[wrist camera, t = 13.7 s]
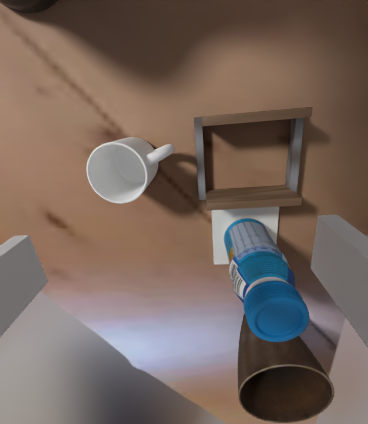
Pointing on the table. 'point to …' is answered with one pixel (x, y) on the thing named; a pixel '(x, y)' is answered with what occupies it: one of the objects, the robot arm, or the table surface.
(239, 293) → the beverage bottle
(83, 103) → the table surface
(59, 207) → the table surface
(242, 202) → the rack
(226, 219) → the coaster
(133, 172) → the mug
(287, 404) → the plant pot
